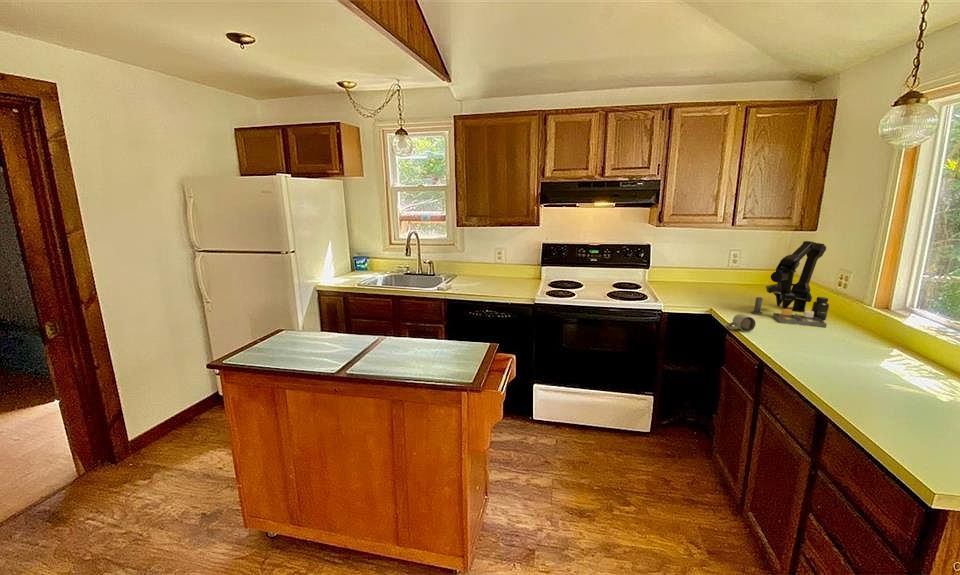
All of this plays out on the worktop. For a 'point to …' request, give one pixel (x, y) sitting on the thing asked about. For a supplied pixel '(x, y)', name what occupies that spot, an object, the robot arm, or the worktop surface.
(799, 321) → the breaker panel
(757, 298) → the post
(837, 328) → the worktop surface
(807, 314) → the ivory toggle
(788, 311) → the amber toggle
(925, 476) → the worktop surface
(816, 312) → the supplement bottle
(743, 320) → the ceramic mug
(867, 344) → the worktop surface
